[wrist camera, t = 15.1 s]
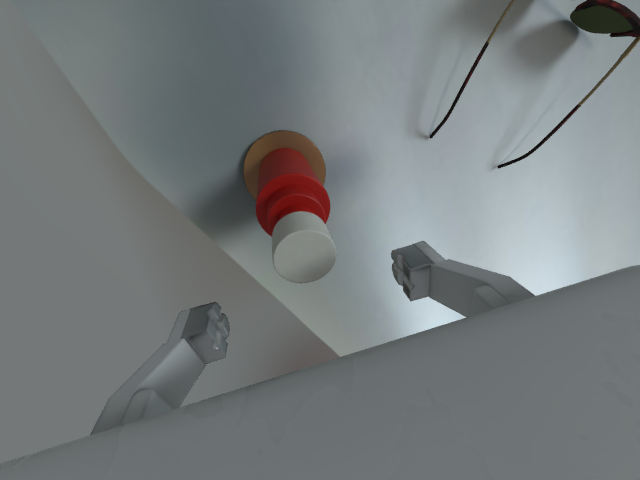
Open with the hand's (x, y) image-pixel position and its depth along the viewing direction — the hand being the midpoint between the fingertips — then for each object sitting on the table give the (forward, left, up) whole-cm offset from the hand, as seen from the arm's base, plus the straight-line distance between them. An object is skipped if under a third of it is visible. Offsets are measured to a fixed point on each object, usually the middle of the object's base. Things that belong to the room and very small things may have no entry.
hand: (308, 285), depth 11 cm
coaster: (0, 0, -19) cm, 19 cm away
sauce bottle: (0, 0, -18) cm, 18 cm away
